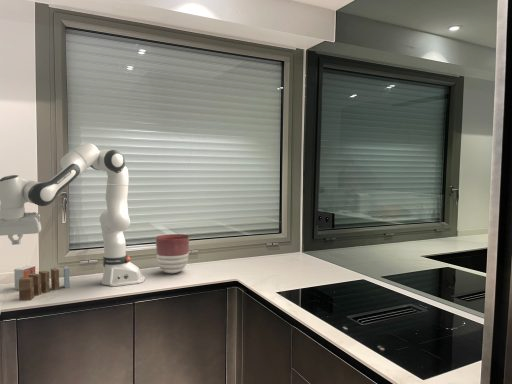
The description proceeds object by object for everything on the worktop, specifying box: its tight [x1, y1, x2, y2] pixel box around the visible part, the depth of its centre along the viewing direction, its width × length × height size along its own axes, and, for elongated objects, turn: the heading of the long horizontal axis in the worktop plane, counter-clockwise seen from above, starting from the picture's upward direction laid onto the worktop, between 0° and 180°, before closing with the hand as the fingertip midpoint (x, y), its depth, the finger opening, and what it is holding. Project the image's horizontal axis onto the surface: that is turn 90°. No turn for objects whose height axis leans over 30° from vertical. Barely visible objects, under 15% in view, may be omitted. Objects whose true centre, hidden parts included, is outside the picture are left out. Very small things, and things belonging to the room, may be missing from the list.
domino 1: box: [18, 277, 35, 301], centre depth 174 cm, size 3×5×10 cm, turn 96°
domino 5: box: [63, 265, 71, 289], centre depth 193 cm, size 2×5×10 cm, turn 33°
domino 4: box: [50, 267, 60, 291], centre depth 190 cm, size 2×5×10 cm, turn 48°
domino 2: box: [29, 273, 42, 297], centre depth 180 cm, size 2×5×10 cm, turn 81°
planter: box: [155, 233, 190, 274], centre depth 221 cm, size 20×20×21 cm
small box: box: [13, 265, 36, 291], centre depth 191 cm, size 8×6×10 cm
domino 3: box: [38, 270, 51, 294], centre depth 185 cm, size 2×5×10 cm, turn 64°
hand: (16, 244), depth 162 cm, fingers closed
